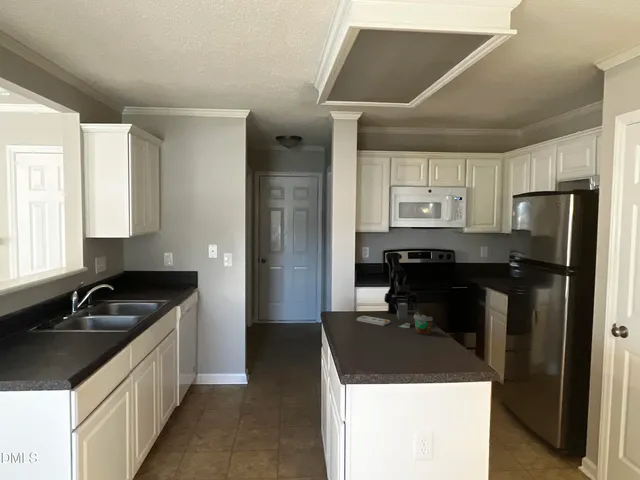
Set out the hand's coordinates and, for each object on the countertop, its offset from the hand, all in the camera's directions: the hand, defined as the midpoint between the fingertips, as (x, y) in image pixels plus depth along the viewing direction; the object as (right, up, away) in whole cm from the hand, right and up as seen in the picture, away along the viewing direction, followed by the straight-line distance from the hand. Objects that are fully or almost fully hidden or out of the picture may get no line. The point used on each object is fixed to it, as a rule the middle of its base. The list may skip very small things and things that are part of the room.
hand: (402, 310), depth 251 cm
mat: (0, -9, +2) cm, 9 cm away
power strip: (-16, -8, +6) cm, 19 cm away
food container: (+7, -10, -14) cm, 18 cm away
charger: (0, -5, +2) cm, 6 cm away
